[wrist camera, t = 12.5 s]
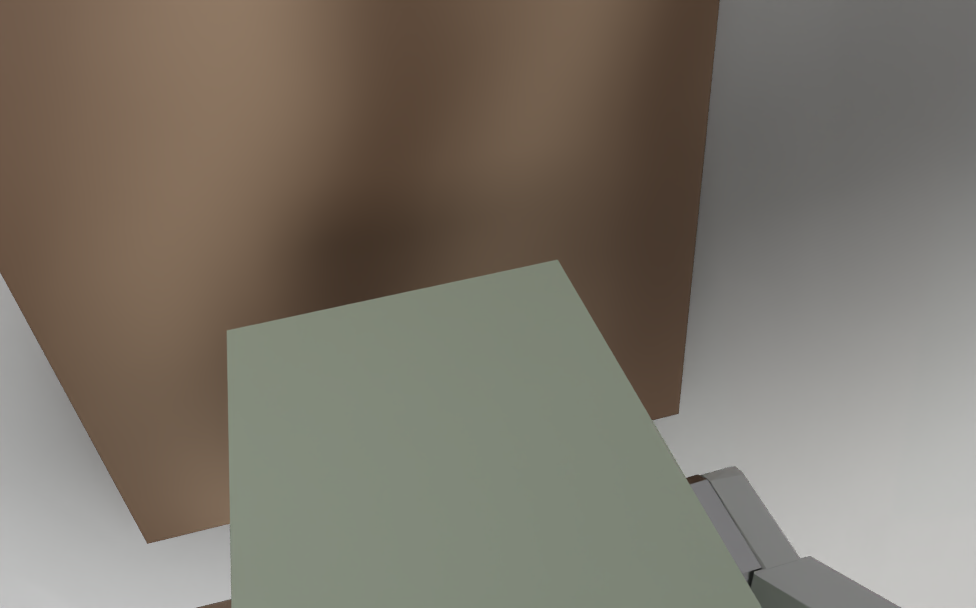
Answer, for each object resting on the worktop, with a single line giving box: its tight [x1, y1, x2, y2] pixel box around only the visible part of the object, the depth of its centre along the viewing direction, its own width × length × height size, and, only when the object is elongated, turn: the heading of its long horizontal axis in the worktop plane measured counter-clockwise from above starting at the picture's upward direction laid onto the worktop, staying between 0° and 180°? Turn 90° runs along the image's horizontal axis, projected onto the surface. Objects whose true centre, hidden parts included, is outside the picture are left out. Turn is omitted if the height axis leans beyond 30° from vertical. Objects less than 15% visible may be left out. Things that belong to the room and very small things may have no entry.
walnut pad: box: [0, 0, 720, 544], centre depth 17 cm, size 14×14×1 cm
